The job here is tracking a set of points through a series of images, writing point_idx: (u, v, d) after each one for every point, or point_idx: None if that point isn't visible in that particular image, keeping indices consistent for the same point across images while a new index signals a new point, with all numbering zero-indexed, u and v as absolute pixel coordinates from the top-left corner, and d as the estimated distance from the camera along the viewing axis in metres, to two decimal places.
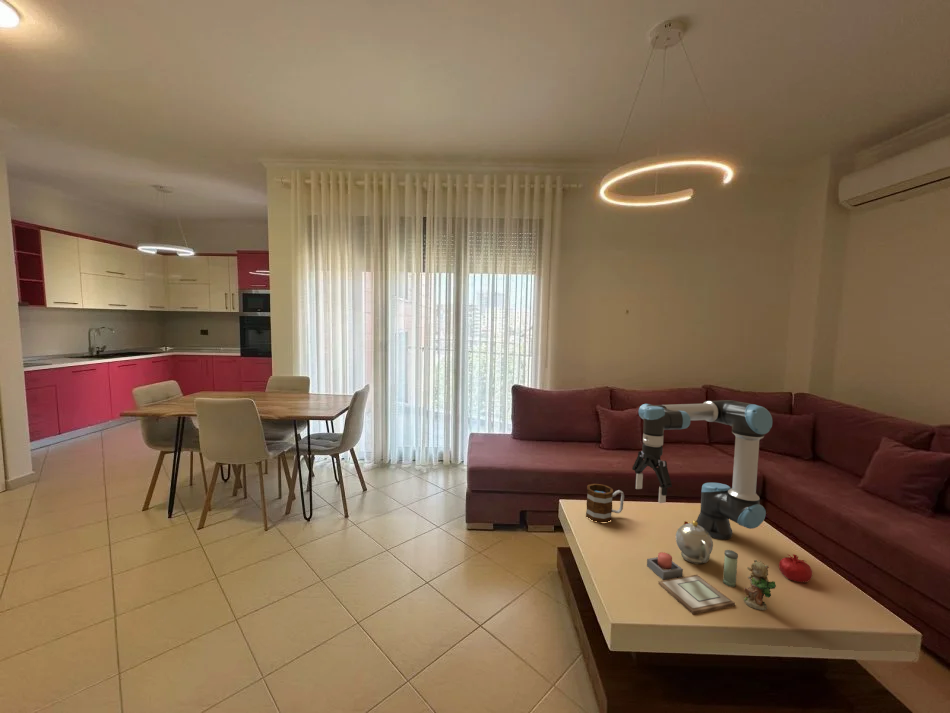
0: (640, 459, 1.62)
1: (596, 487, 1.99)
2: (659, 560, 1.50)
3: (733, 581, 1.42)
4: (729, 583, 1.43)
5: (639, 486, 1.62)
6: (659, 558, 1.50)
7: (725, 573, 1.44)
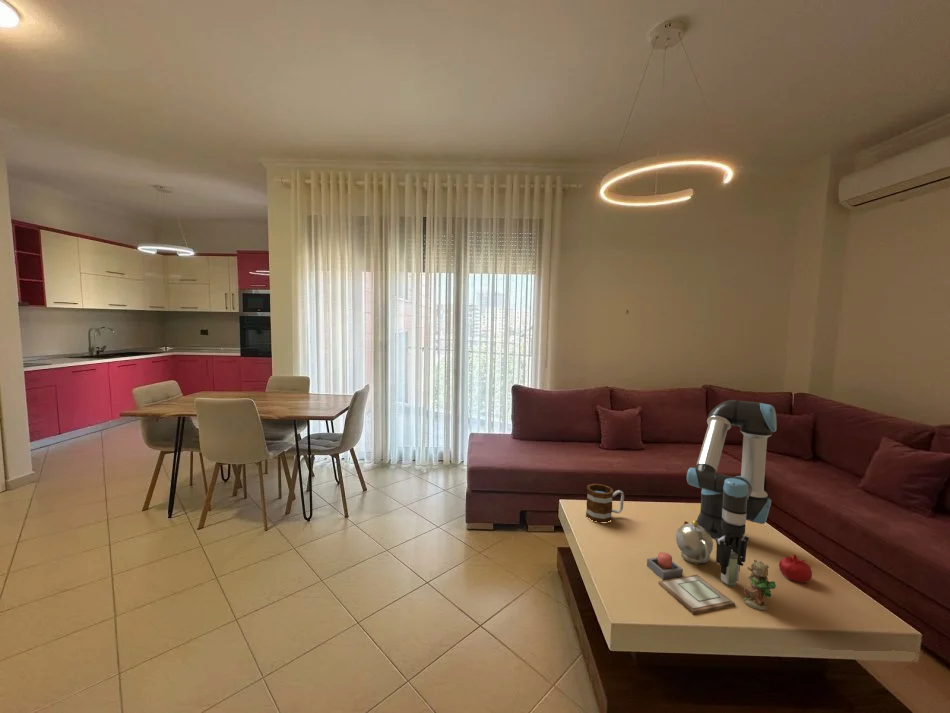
0: (740, 543, 1.45)
1: (596, 487, 1.99)
2: (659, 560, 1.50)
3: (733, 581, 1.42)
4: (729, 583, 1.43)
5: None
6: (659, 558, 1.50)
7: None
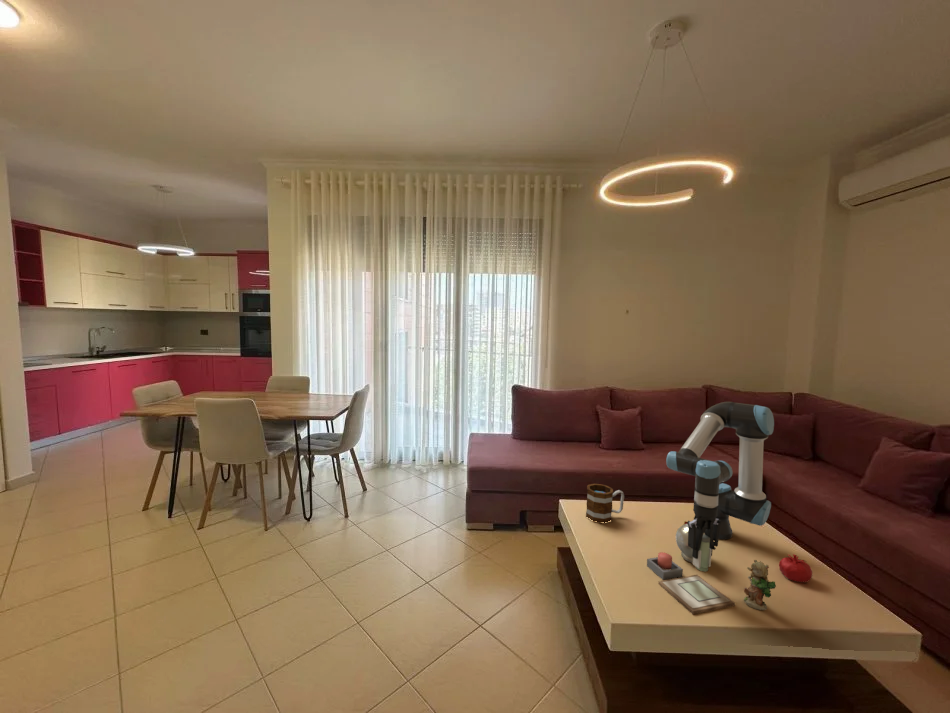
0: (713, 527, 1.42)
1: (596, 487, 1.99)
2: (659, 560, 1.50)
3: (705, 565, 1.39)
4: (701, 567, 1.39)
5: None
6: (659, 558, 1.50)
7: None
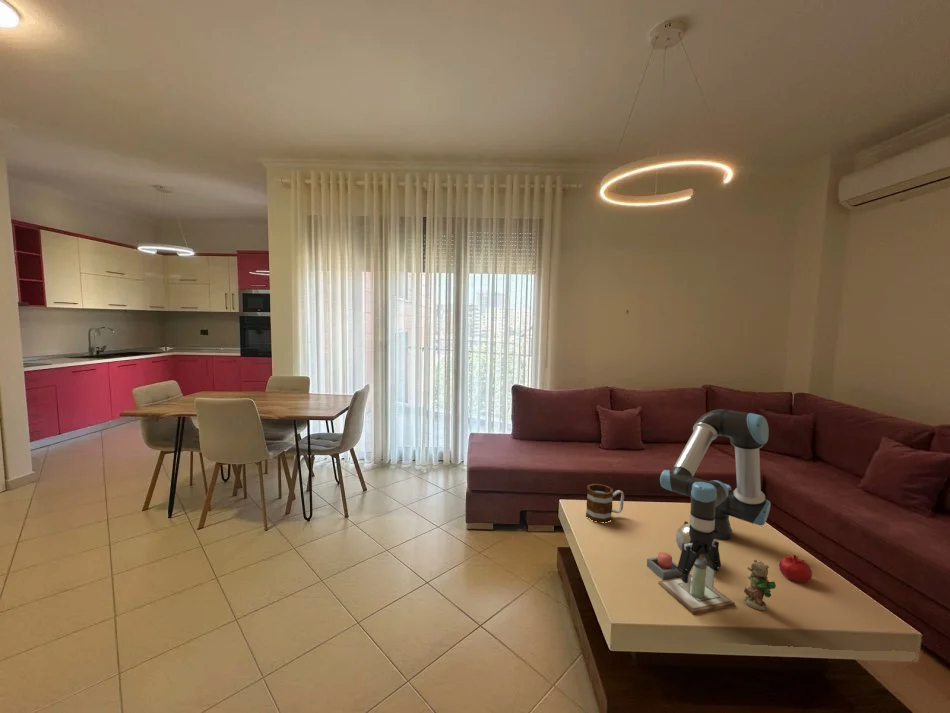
0: (712, 549, 1.37)
1: (596, 487, 1.99)
2: (659, 560, 1.50)
3: (701, 593, 1.34)
4: (697, 595, 1.34)
5: (708, 582, 1.37)
6: (659, 558, 1.50)
7: (693, 584, 1.35)
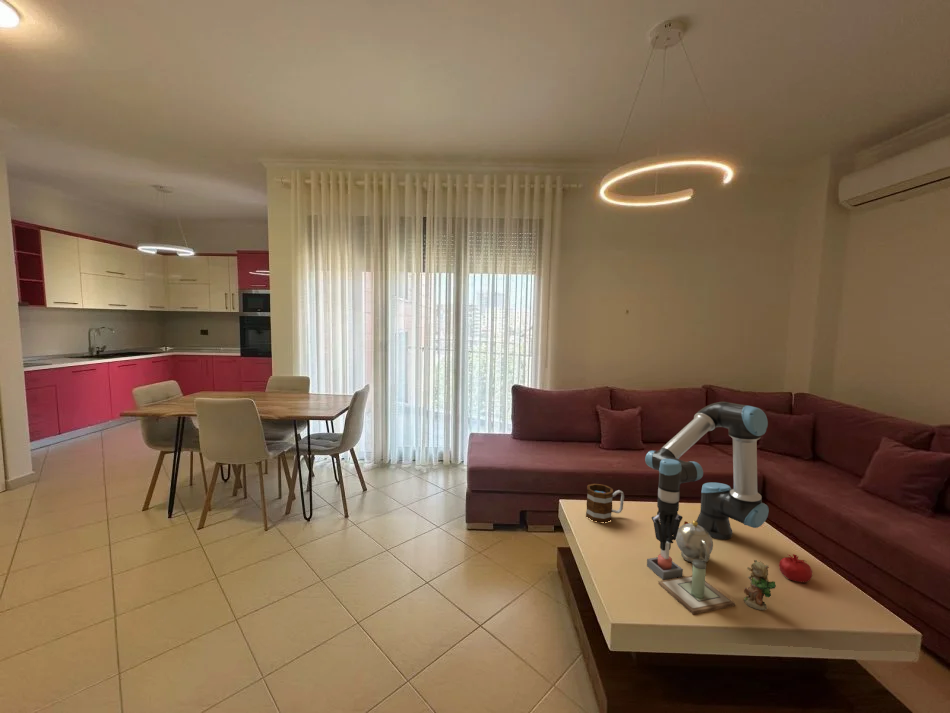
0: (674, 522, 1.51)
1: (596, 487, 1.99)
2: (659, 562, 1.50)
3: (701, 593, 1.34)
4: (697, 595, 1.34)
5: None
6: (659, 560, 1.50)
7: (693, 584, 1.35)
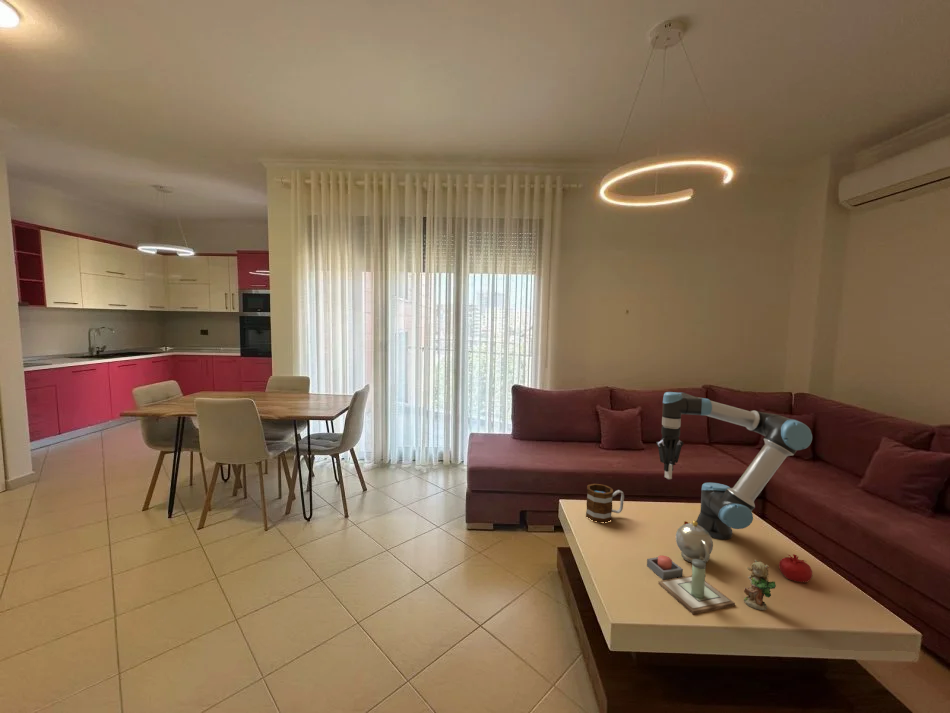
0: (676, 447, 1.73)
1: (596, 487, 2.00)
2: (659, 563, 1.50)
3: (701, 592, 1.34)
4: (697, 595, 1.34)
5: None
6: (659, 561, 1.51)
7: (693, 584, 1.35)
